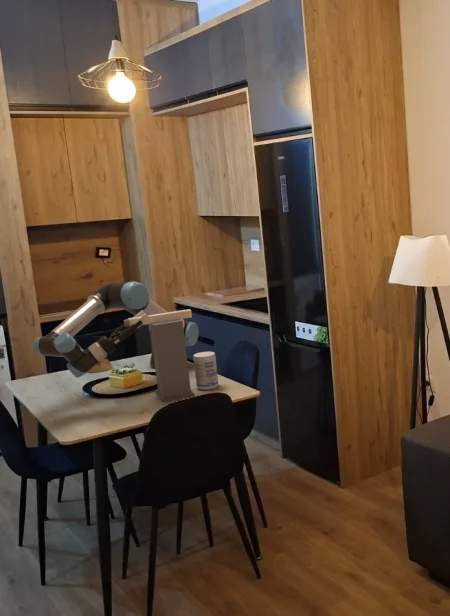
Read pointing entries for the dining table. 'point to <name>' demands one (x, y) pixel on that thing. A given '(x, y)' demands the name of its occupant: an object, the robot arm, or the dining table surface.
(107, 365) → the pastry
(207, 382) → the supplement tub
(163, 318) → the beige square bar
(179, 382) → the stand
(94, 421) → the dining table surface
